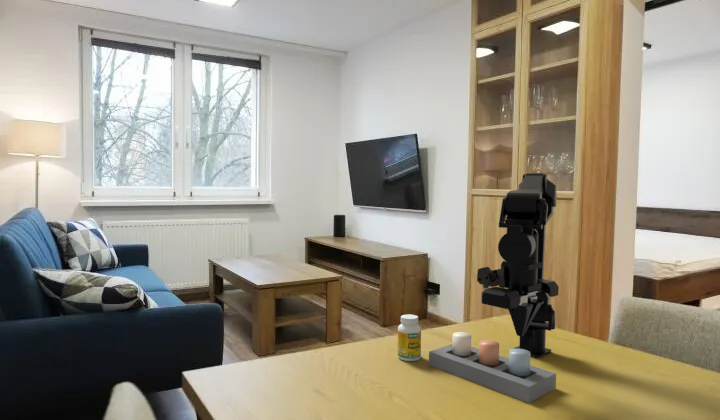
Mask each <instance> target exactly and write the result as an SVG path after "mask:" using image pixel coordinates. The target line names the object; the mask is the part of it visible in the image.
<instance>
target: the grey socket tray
mask: <svg viewBox="0 0 720 420" xmlns="http://www.w3.org/2000/svg"><path fill="white" fill-rule="evenodd" d="M428 366H430V367H433V368H435V369H438V370H441V371H444V372H447V373H449V374H452V375H454V376H457V377H459V378H462V379H464V380H466V381H467V380H468V381H469V382H473V383H475V384H478V385H480V386H484V387H486V388H489V389H490V390H494V391H496V392H499V393H501V394H504V395H506V396H508V397H512V398H514V399H517V400H520V401H523V402H524V403H528V404H530V403H532V402H533V401H535V400H537V399H539V398H541V397H543V396H544V395H546V394H548V393H550V392H552V391H554V390H555V389H556V388H557V387H556V386H557V385H556V384H557V372H553V371H550V370H547V369H543V368H540V367H537V366H533V365H531V364H530V374H529V375H527V376H518V375H514V374H511V373H510V372H509V357H506V356H502V355H499V364H497V365H485V364H482V363H480V362H479V348H476V347H473V346H471V354H470V355H468V356H459V355H455V354H453V353H452V343H451V344H449V345H446V346H445V345H444V346H442V347H439V348H436V349H434V350H430V351H428Z"/></svg>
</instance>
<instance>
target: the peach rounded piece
mask: <svg viewBox="0 0 720 420" xmlns="http://www.w3.org/2000/svg"><path fill="white" fill-rule="evenodd" d="M478 343H479V344H478V349H479V362H480V363H482V364H485V365H497V364H499V356H500V342H498V341H497V340H492V339H481V340H479V342H478Z"/></svg>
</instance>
